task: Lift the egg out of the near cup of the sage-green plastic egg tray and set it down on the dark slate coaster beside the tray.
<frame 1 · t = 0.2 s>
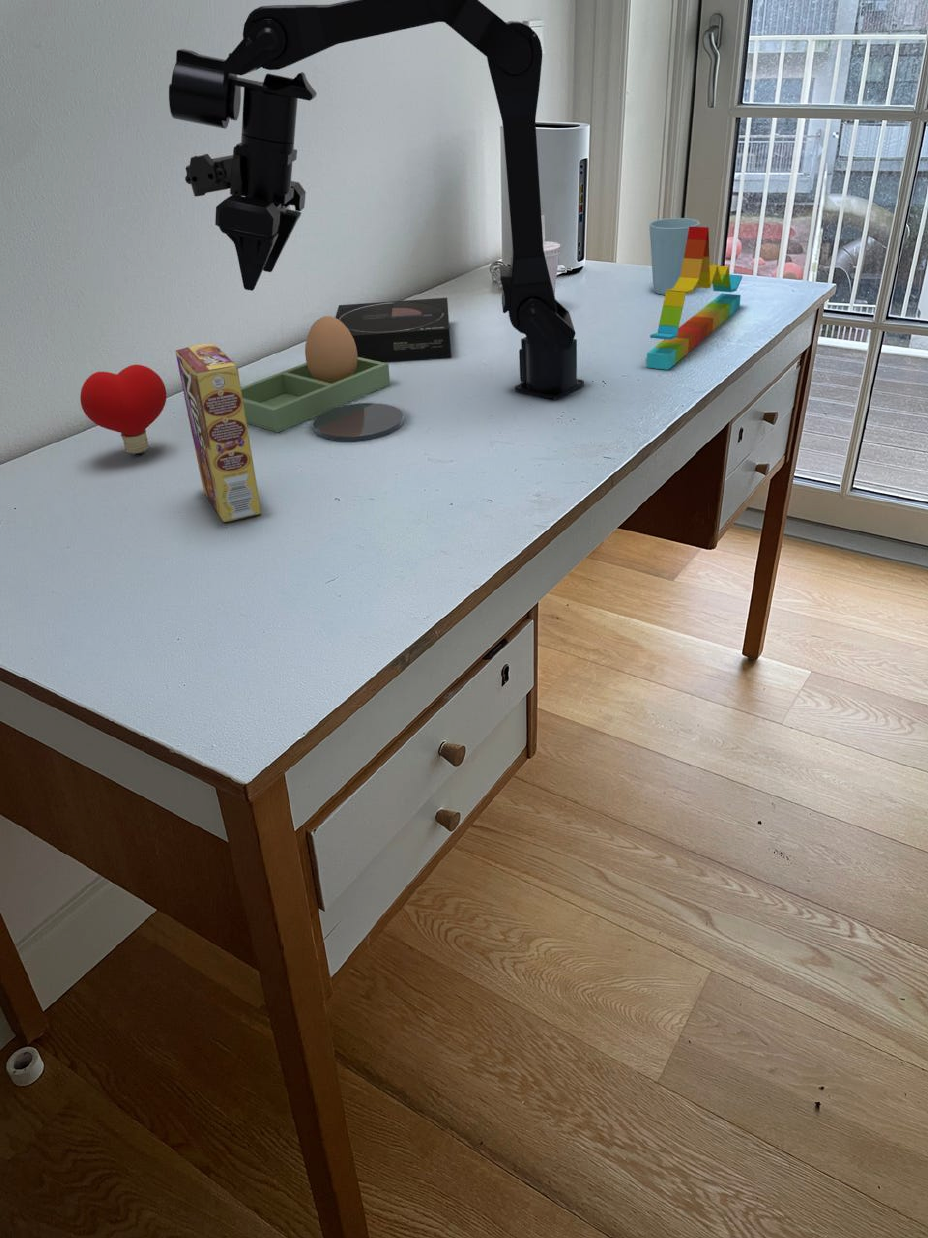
hand: (258, 280, 116), 15 cm above the table, tool pointing down, fingers open, 9 cm apart
egg: (336, 388, 128), resting on tray
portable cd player: (394, 344, 143), on the table
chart: (695, 336, 138), on the table
candy box: (234, 504, 101), on the table
cup: (670, 291, 158), on the table
light bulb: (139, 455, 113), on the table
smoothie: (541, 311, 153), on the table
coaster: (358, 423, 117), on the table
tray: (309, 399, 125), on the table
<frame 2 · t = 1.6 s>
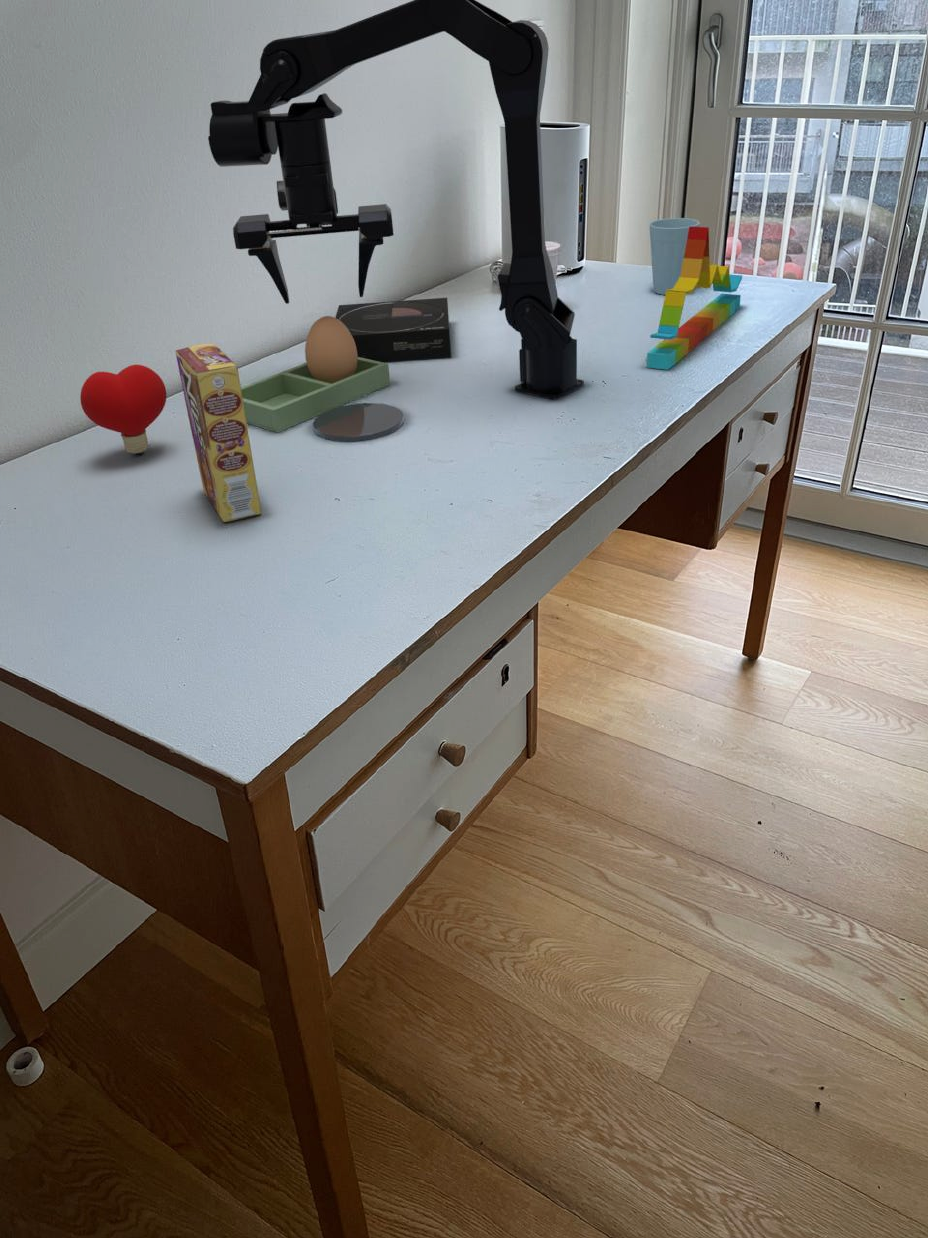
hand: (324, 299, 122), 12 cm above the table, tool pointing down, fingers open, 9 cm apart
nothing on the table moved.
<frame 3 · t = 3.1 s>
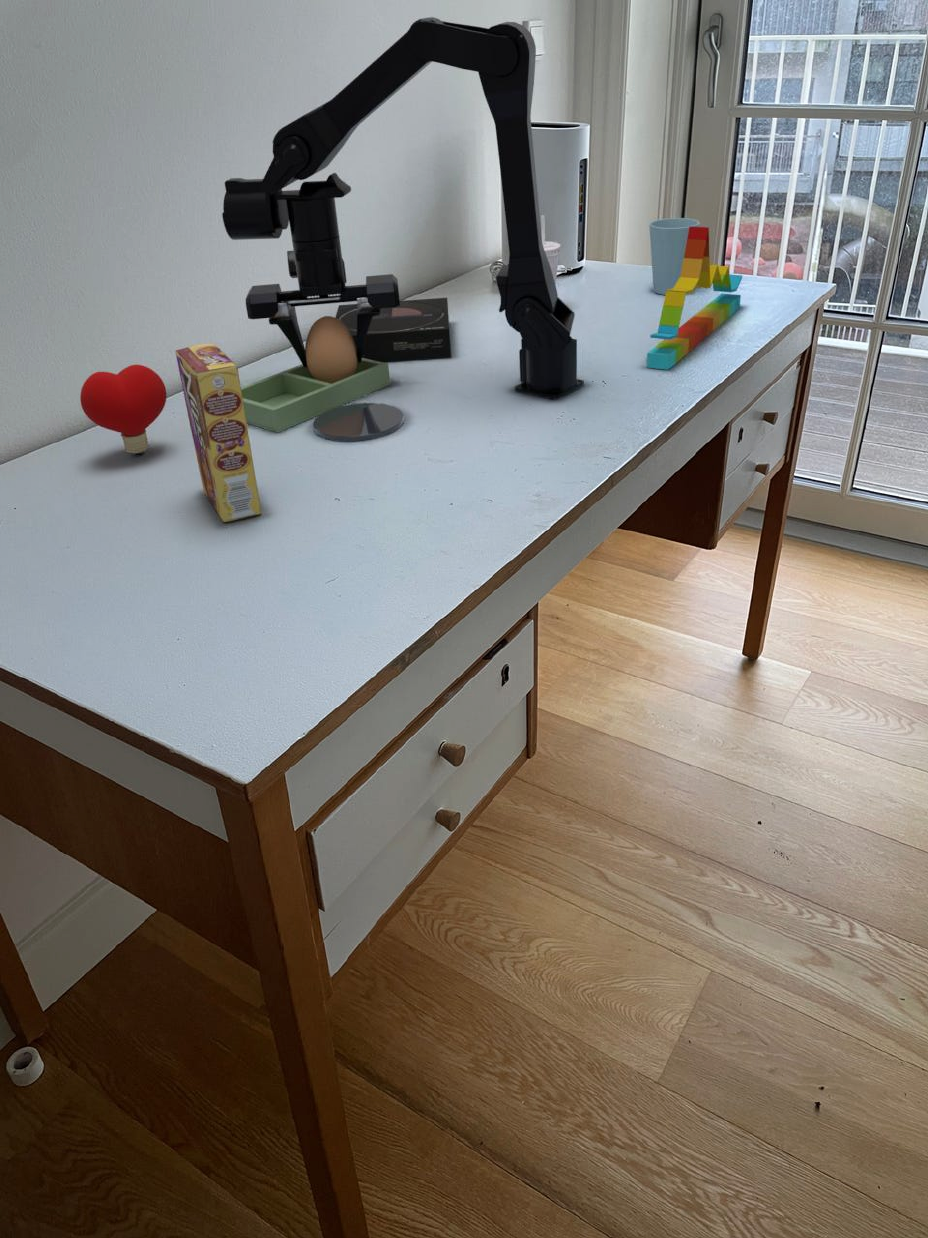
hand: (333, 364, 126), 3 cm above the table, tool pointing down, fingers closed on egg, 6 cm apart
egg: (336, 388, 128), resting on tray, touching gripper
everything else where it was.
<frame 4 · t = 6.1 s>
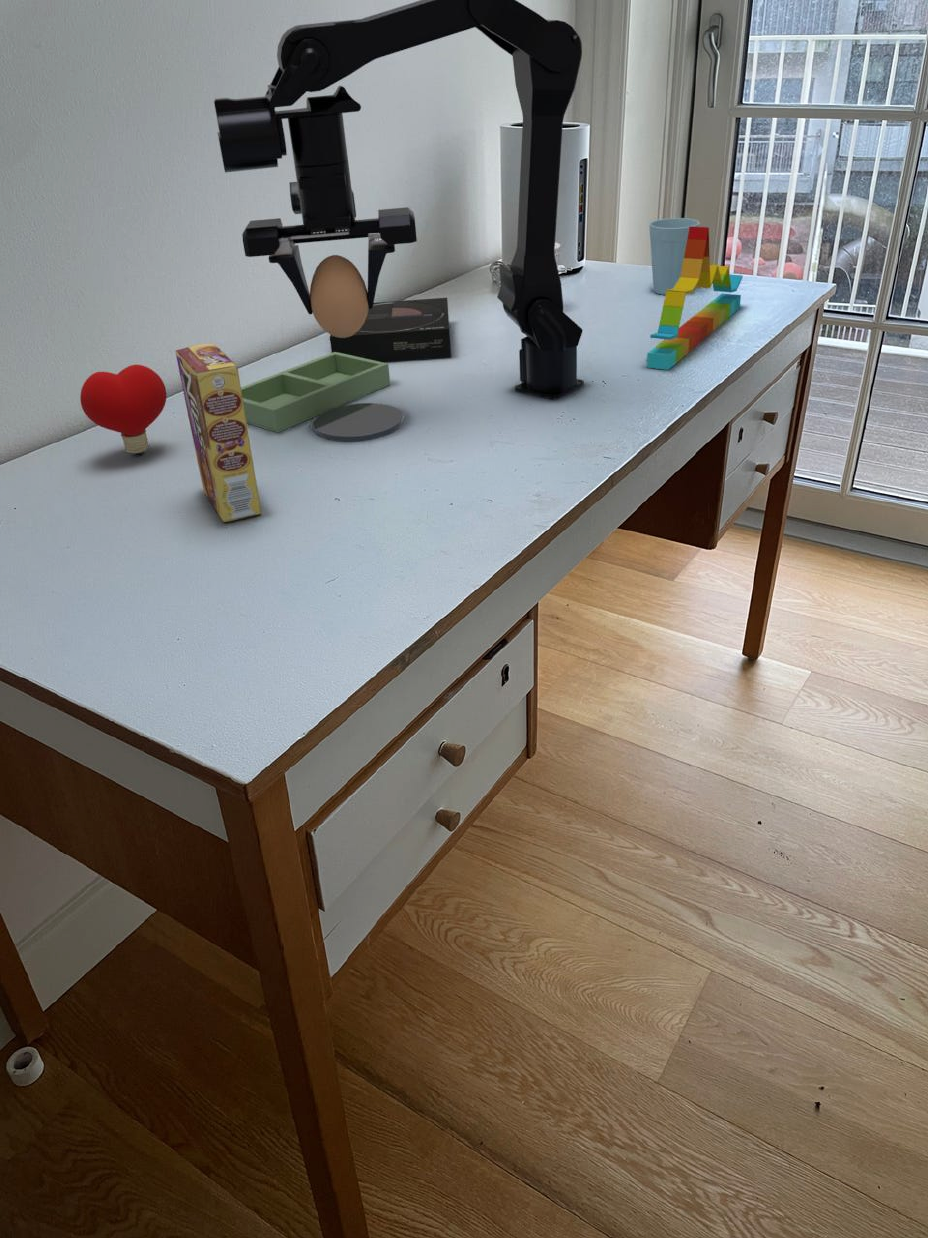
hand: (341, 310, 112), 13 cm above the table, tool pointing down, fingers closed on egg, 6 cm apart
egg: (344, 338, 114), point 10 cm above the table, touching gripper
everything else where it was.
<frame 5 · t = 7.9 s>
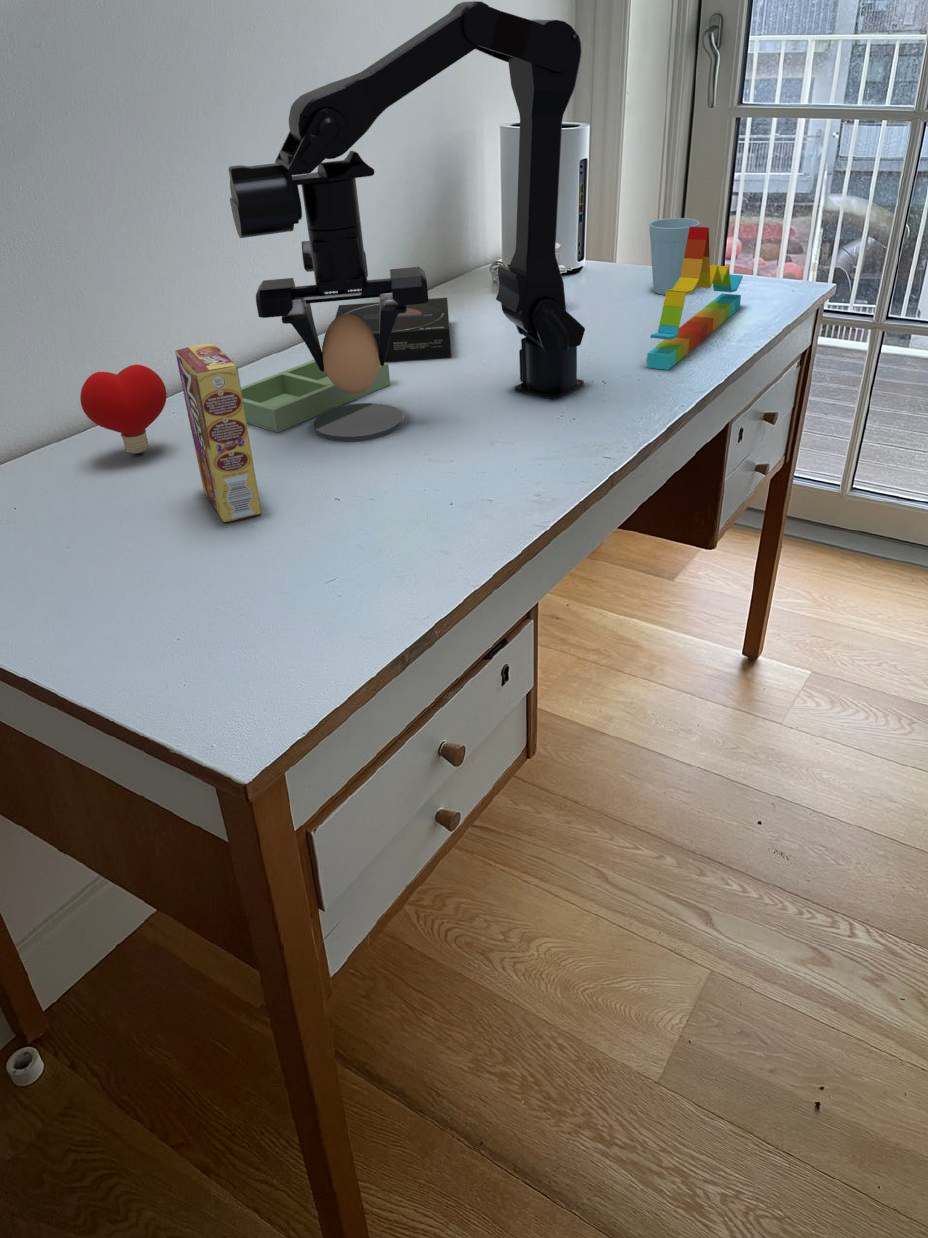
hand: (352, 367, 113), 7 cm above the table, tool pointing down, fingers closed on egg, 6 cm apart
egg: (356, 394, 115), point 4 cm above the table, touching gripper
everything else where it was.
when the fingers open (4 cm above the table, at t = 9.4 s): egg stays where it is, resting on coaster.
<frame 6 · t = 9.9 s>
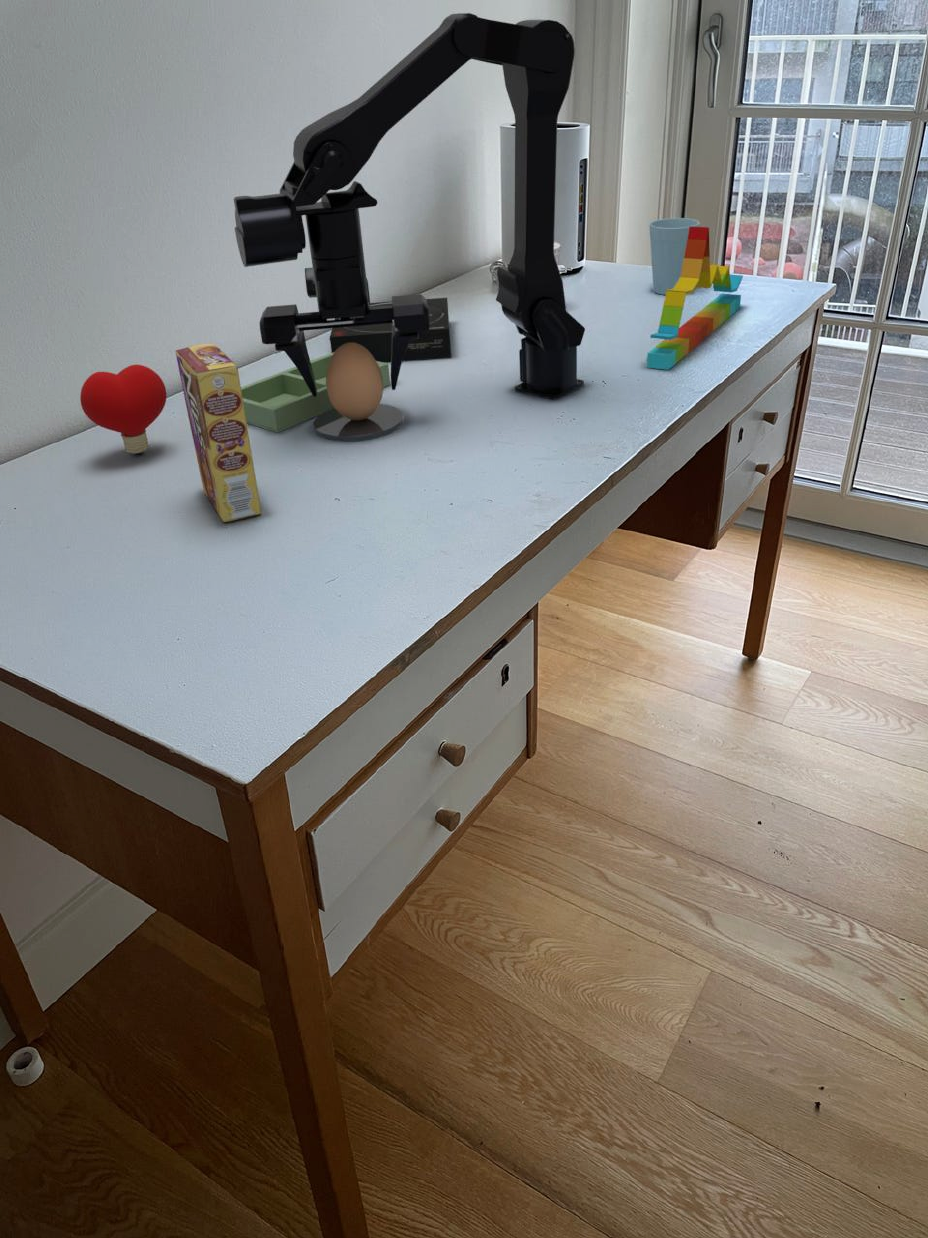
hand: (354, 392, 115), 4 cm above the table, tool pointing down, fingers open, 9 cm apart
egg: (359, 420, 117), resting on coaster
everything else where it was.
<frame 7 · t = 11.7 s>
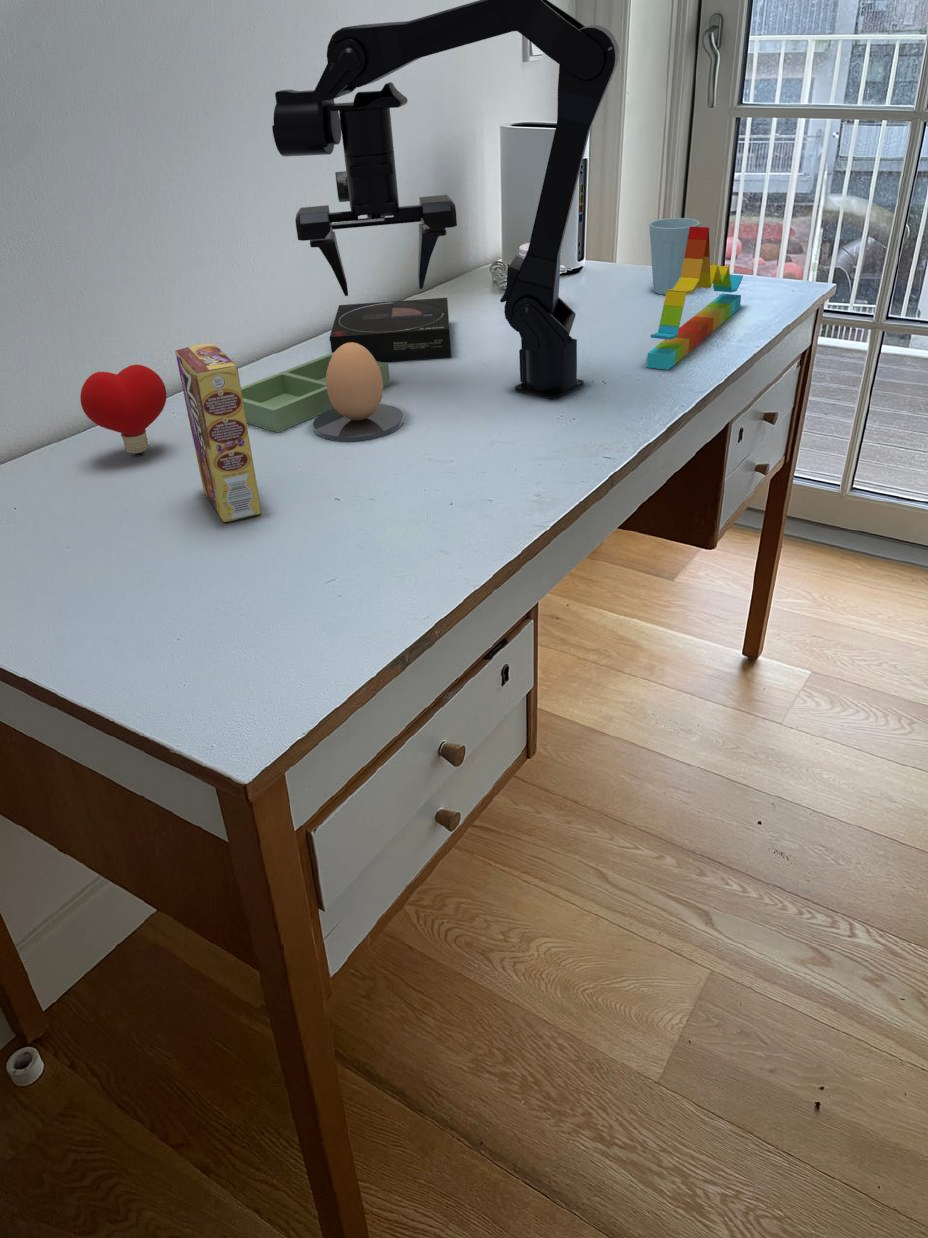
hand: (383, 291, 120), 12 cm above the table, tool pointing down, fingers open, 9 cm apart
nothing on the table moved.
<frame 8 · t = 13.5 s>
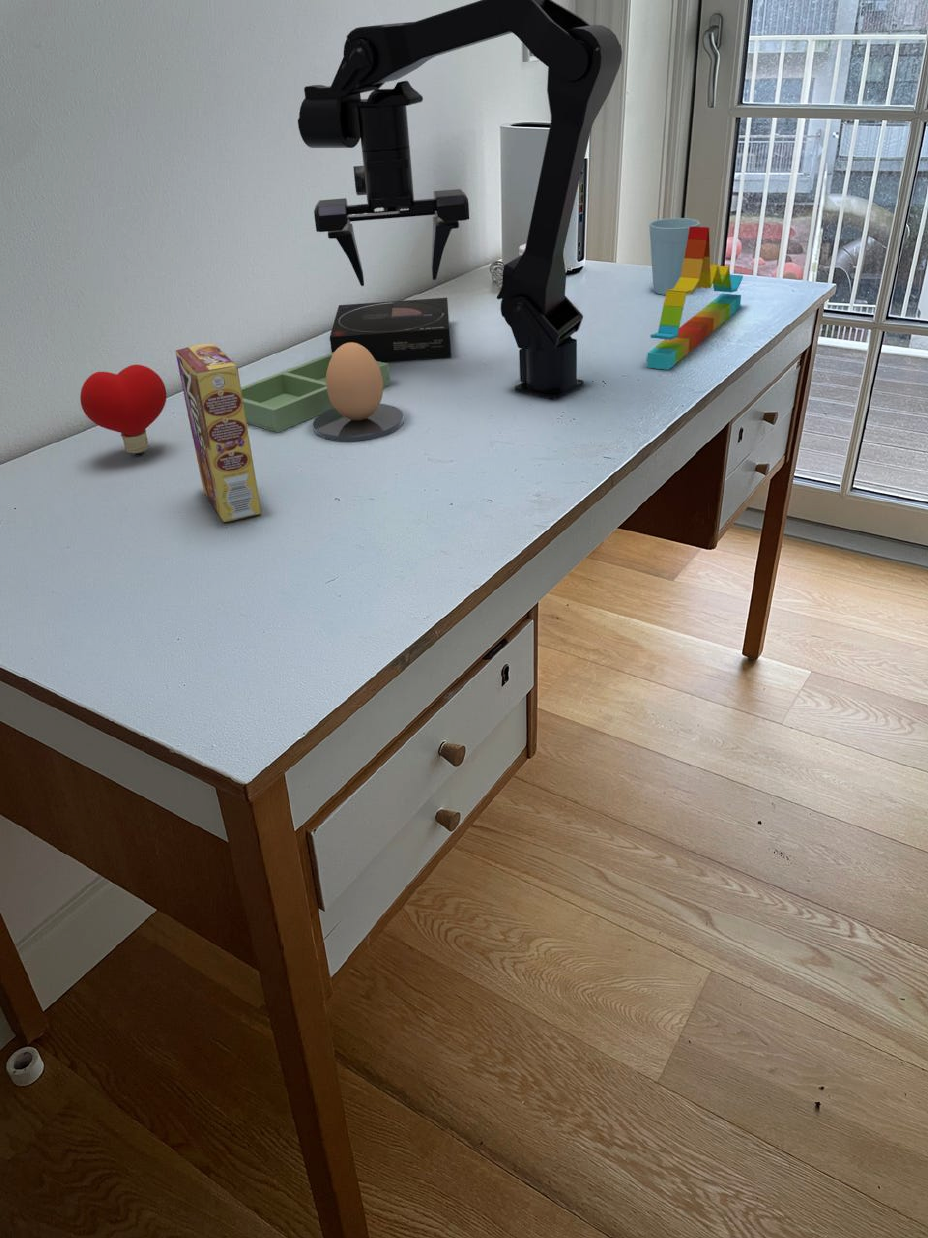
hand: (398, 281, 125), 12 cm above the table, tool pointing down, fingers open, 9 cm apart
nothing on the table moved.
at the end: egg 0.1 cm from the coaster (horizontally); egg touching coaster; the gripper is holding nothing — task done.
